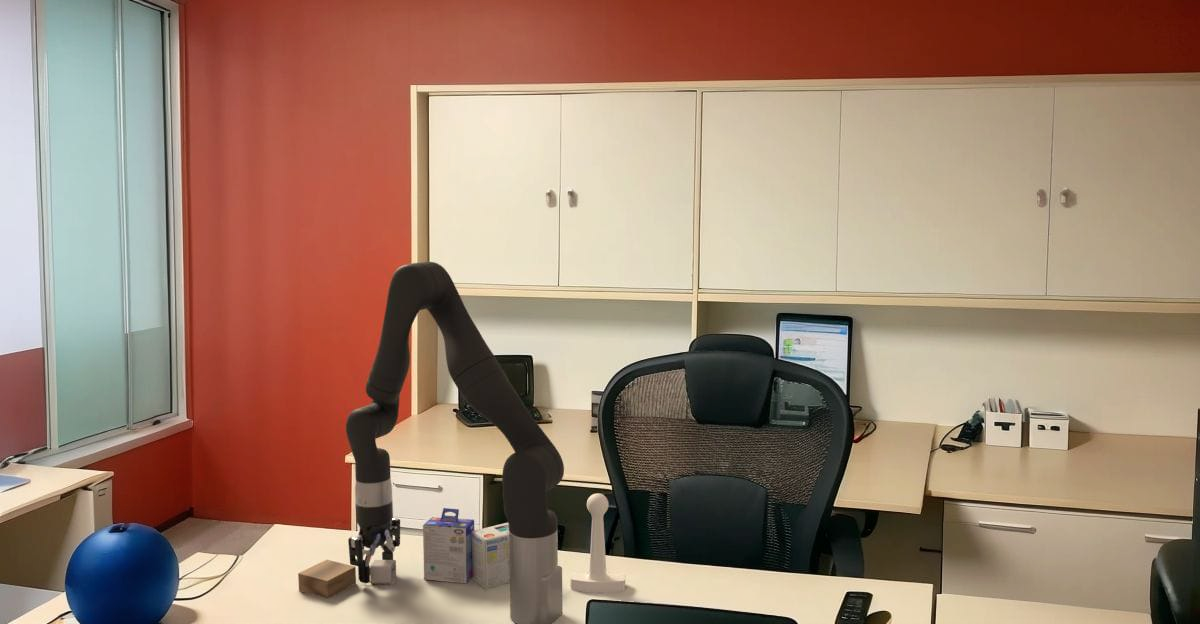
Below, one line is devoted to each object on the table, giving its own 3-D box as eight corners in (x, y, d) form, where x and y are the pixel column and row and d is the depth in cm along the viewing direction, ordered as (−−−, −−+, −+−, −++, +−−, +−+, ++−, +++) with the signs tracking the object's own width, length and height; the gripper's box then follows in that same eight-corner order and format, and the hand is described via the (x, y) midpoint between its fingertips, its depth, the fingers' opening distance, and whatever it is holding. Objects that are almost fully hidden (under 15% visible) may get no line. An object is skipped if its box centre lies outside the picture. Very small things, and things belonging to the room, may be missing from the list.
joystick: (569, 591, 187) (569, 496, 184) (573, 576, 194) (573, 485, 192) (624, 593, 186) (624, 498, 183) (626, 577, 193) (626, 486, 191)
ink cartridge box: (476, 573, 196) (475, 508, 194) (467, 584, 190) (466, 517, 189) (433, 569, 198) (431, 505, 196) (423, 580, 192) (421, 514, 191)
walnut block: (356, 584, 191) (355, 566, 190) (328, 600, 184) (327, 581, 183) (327, 577, 195) (326, 559, 194) (299, 591, 188) (298, 573, 187)
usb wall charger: (391, 584, 190) (390, 566, 190) (358, 584, 191) (357, 566, 190) (396, 576, 194) (395, 558, 194) (364, 576, 195) (363, 558, 194)
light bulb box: (515, 567, 199) (514, 519, 198) (530, 577, 194) (530, 528, 192) (470, 579, 193) (469, 529, 192) (485, 590, 188) (484, 539, 186)
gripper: (365, 513, 182) (368, 592, 184) (409, 491, 195) (412, 566, 197) (335, 507, 185) (339, 585, 188) (381, 486, 198) (384, 560, 200)
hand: (376, 575), depth 192 cm, fingers open, 7 cm apart
